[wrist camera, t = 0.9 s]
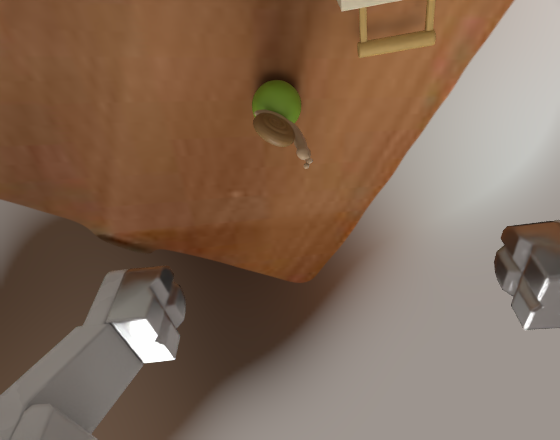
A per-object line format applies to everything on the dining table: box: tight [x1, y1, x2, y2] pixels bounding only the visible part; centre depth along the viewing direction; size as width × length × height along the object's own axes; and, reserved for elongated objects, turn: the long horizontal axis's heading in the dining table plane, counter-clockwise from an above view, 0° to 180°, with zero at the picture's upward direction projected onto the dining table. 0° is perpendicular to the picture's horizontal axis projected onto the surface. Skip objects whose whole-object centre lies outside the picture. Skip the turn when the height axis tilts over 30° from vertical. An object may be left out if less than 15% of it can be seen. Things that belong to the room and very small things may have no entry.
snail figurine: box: [252, 80, 313, 169], centre depth 40 cm, size 5×6×12 cm
